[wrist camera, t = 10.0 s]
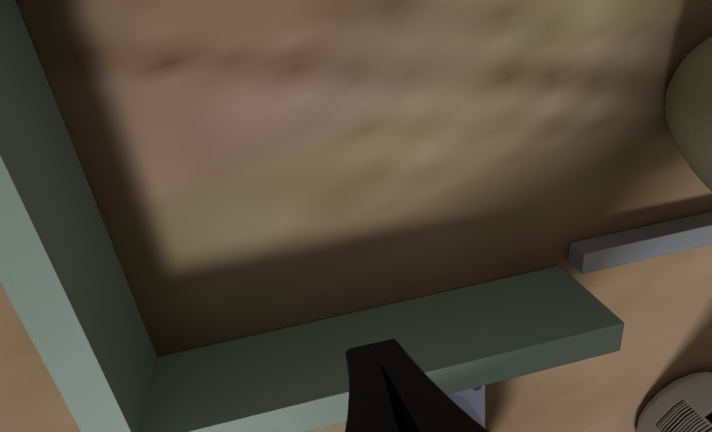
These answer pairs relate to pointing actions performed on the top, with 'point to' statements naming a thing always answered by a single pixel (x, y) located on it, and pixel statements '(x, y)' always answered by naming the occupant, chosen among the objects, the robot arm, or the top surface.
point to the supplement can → (680, 406)
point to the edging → (641, 243)
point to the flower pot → (693, 110)
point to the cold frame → (244, 355)
